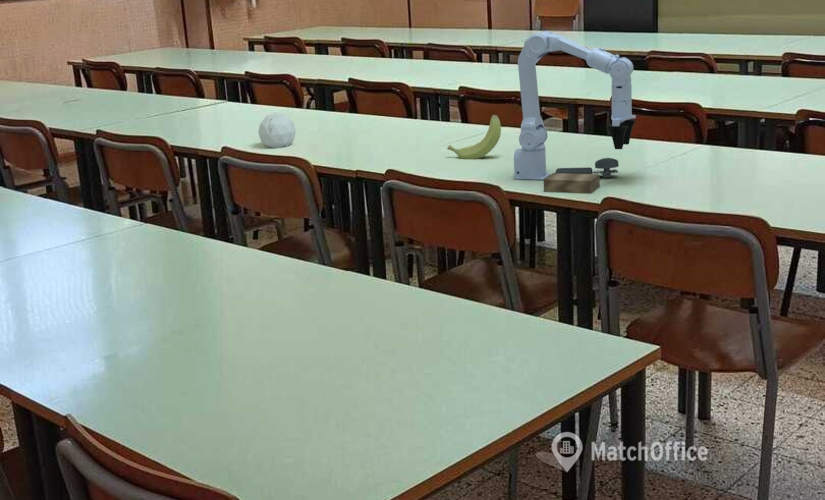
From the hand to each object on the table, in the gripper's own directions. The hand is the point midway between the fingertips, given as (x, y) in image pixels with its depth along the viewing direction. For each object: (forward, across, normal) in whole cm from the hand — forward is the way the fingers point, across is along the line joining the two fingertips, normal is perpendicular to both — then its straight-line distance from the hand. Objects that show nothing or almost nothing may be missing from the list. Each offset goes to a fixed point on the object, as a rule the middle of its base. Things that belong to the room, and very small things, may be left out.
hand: (621, 146), depth 314 cm
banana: (+1, +24, +46) cm, 52 cm away
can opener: (+10, +2, +11) cm, 15 cm away
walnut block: (+10, -14, +11) cm, 21 cm away
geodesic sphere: (+11, +33, +140) cm, 144 cm away
